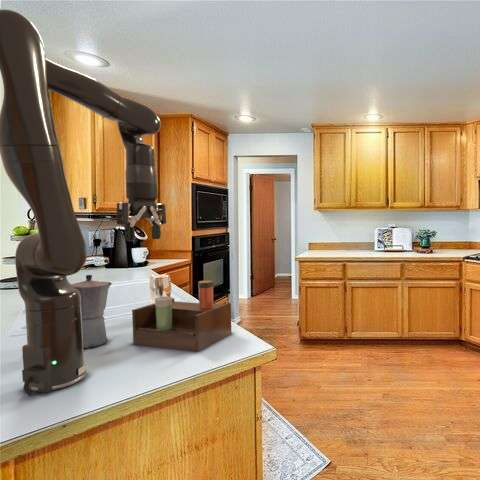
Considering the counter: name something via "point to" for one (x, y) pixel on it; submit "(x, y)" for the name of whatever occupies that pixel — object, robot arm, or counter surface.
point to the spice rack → (183, 326)
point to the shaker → (163, 313)
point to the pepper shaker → (205, 294)
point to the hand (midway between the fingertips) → (143, 240)
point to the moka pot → (93, 310)
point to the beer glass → (159, 286)
